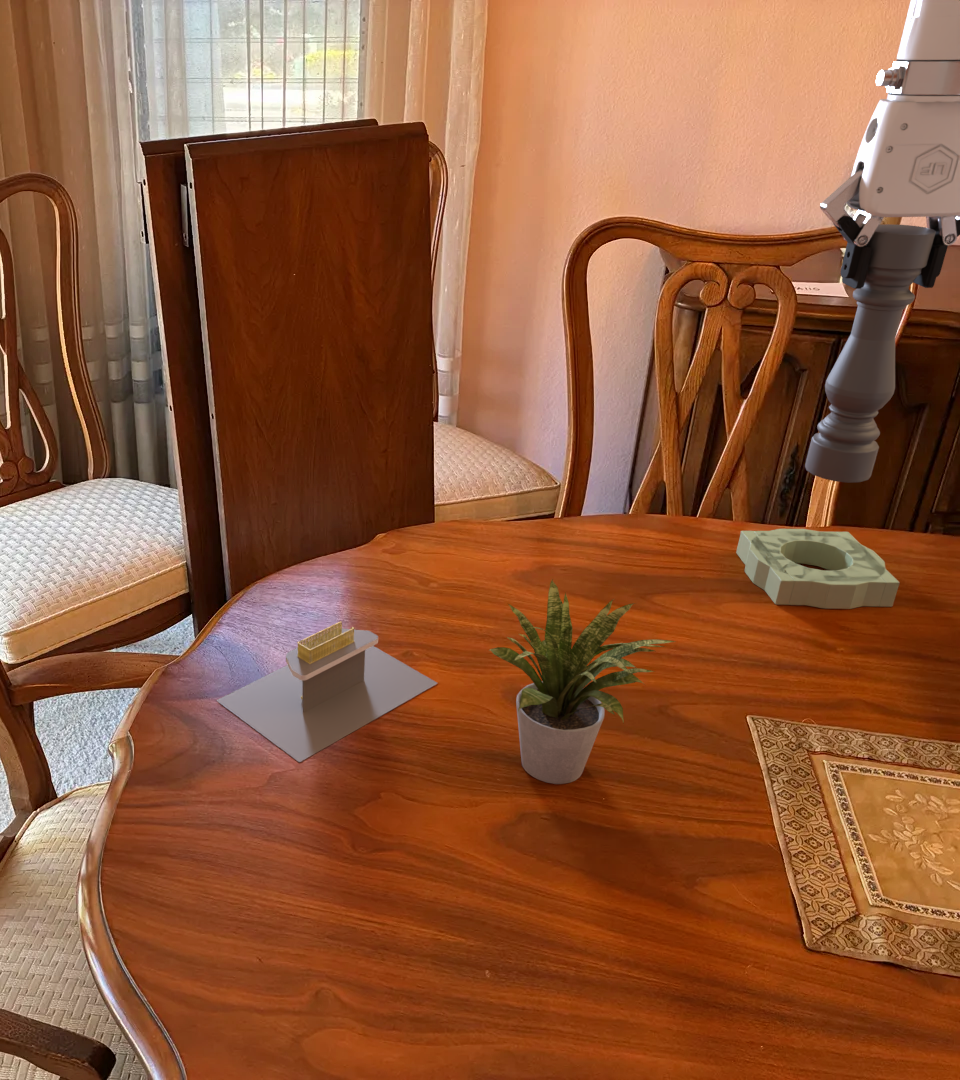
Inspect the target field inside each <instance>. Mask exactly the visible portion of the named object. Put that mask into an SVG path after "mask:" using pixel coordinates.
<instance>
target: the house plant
mask: <svg viewBox="0 0 960 1080" xmlns="http://www.w3.org/2000/svg"><path fill="white" fill-rule="evenodd" d="M563 597H564V598H563V601H562V599H561V596H560V591H559V587H558V586H557V584H556V583H555V582H554V578H552V579H551V581H550V584H549V588H548V595H547V606H546V623H545V629H544V628H543V627H537V626H534V625H533V624H532V623H531V621H530V620H529V619H528V618H527V617H526V615H525V614H524V613H523V611H522V612H521V610H520V609H518V608H516V607H514V606H513V605H512V604H509V603H507V605H508V606H509V608H510V610H511V612H512V613H513V614H514V615H515V616H516V617H517V619H518V622H519V624H520V626H521V628H522V630H523V631H524V633H525V634H521V633H518V635H519V636H521V637H523V639H524V640H525V641H526V642H527V643H528V644H529V645H530V647H531V648H532V650H533V652H532V651H528V650H527V649H526V647H524V646H523V645H522V644H521V643H520V642H519V641H517V640H516V639H515V638H514V637H508V636H507V637H506V638H507V639H508V640H509V641H510V642H511V643H513V644H514V645H516V646H517V647H518V648H519V649H520V650H521V653H520V654H519V653H518V652H517V651H516V650H514V649H512V648H510V647H505V646H500V647H499V646H497V647H494V648H490V649H489V650H488V651H489V652H491V653H492V654H493V655H494V656H496V657H498V658H500V659H501V660H503V661H505V662H507V663H508V664H509V663H510V664H511V665H513V666H515V667H517V668H518V669H519V670H521V671H523V672H524V673H525V674H526V676H527V677H529V678H530V680H531V681H532V683H529V684H527V685H526V686H524V687H523V688H521V689H520V690H519V692H518V693H517V694H516V698H515V699H516V701H515V704H516V716H517V725H518V727H517V728H518V737H519V749H520V757H521V758H520V760H521V766H522V768H523V769H524V771H525V772H526V773H527V774H529V775H530V776H531V777H533V778H534V779H537V780H538V781H541V782H543V783H548V784H552V785H553V784H554V785H565V784H569V783H570V784H571V783H572V782H575V781H577V780H578V779H580V778H581V776H582V774H583V773H584V770H585V767H586V765H587V762H588V759H589V757H590V755H591V752H592V749H593V747H594V743H595V742H596V739H597V736H598V734H599V731H600V729H601V726H602V724H603V721H604V719H605V713H606V711H607V712H609V713H610V714H612V715H613V716H616V714H617V715H618V716H619V718H621V720H622V723H623V724H624V723H625V722H624V708H623V705H622V703H621V702H620V701H619V700H618V698H617V697H615V696H614V695H612V694H610V693H608V692H605V691H602V690H603V689H606V688H610V687H617V686H622V685H629V684H635V683H641V684H643V685H645V686H646V684H645V683H644V682H643V681H642V680H641V679H639V678H638V677H637V676H636V675H635V674H636V673H637V674H638V673H654V672H656V671H655V670H651V669H646V668H639V667H637V666H635V665H634V664H633V663H632V662H631V661H630V660H627V659H625V657H627V656H631V655H632V654H635V653H640V652H644V653H645V652H646V653H647V652H648V653H651V652H655V650H654V649H650V648H666V646H664V645H661V644H669V643H677V641H676V640H668V639H660V638H659V639H654V638H653V639H640V640H635V641H630V642H616V643H609V644H604V643H605V642H606V641H607V639H609V638H610V636H612V635H613V633H614V632H615V630H616V628H617V625H618V623H619V621H620V619H621V618H623V616H624V615H625V614H626V613H627V612H629V610H630V609H631V608H632V606H633V605H635V604H637V602H635V603H628V604H625V605H622V606H620V607H617V608H616V609H614V610H613V611H611V609H612V604H613V601H614V600H615V598H614V599H611V600H610V601H609V602H608V603H607V604H606V605H605V606H604V607H603V608H602V609H601V610H600V611H599V612H598V613H597V615H596V616H595V617H594V618H593V619H592V620H591V622H590V623H589V624H587V626H586V627H585V628H584V629H583V630H582V631H581V634H579V636H578V637H577V638H576V640H575V642H574V643H573V624H572V618H571V614H570V603H569V599H568V596H567V592H565V593H564V596H563ZM610 611H611V612H610ZM536 629H537V630H541V631H544V639H543V640H541V637H540V636H539V634H538V631H537V630H536ZM572 644H573V646H572ZM603 644H604V645H603ZM659 644H660V645H659ZM645 647H647V648H645ZM648 647H649V648H648ZM603 652H604V653H603ZM601 653H603V654H601ZM600 654H601V655H600ZM532 655H533V656H534V657H535V658H536V660H537V662H536V661H535V659H534V658H533V656H532ZM598 655H599V656H598ZM597 656H598V657H597ZM524 657H527V658H528V659H529V660H530V661H531V662H532V664H533V666H532V665H531V663H530V662H529V661H528V660H527V659H526V658H524ZM595 657H596V659H594V658H595ZM593 659H594V660H593ZM592 660H593V661H592ZM591 661H592V662H591ZM590 662H591V663H590ZM534 667H535V668H534ZM616 667H618V668H619V669H621V670H622V671H620V670H619V671H613V672H610V673H607V674H604V675H602V676H600V677H598V678H596V677H597V676H598V675H599V674H600V673H601V672H603V671H604V670H606V669H609V668H616ZM628 667H629V668H628Z"/></svg>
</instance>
